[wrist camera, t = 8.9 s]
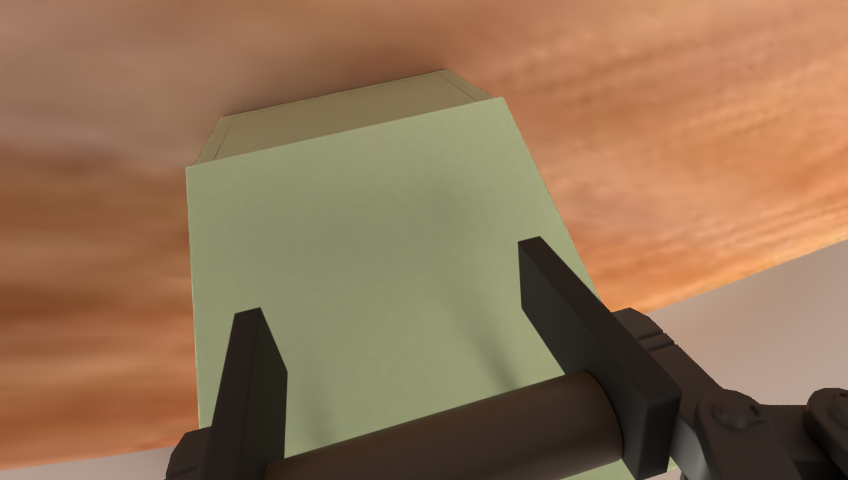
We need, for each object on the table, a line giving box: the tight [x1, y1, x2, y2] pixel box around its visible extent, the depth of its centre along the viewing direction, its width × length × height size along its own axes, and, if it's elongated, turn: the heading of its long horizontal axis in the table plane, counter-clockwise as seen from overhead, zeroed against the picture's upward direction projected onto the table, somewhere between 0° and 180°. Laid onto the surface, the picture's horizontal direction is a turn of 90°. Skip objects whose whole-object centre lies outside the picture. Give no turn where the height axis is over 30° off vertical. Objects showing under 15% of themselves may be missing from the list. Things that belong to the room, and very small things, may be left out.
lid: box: [185, 96, 678, 480], centre depth 17 cm, size 18×16×8 cm
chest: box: [194, 69, 494, 165], centre depth 33 cm, size 17×16×10 cm
